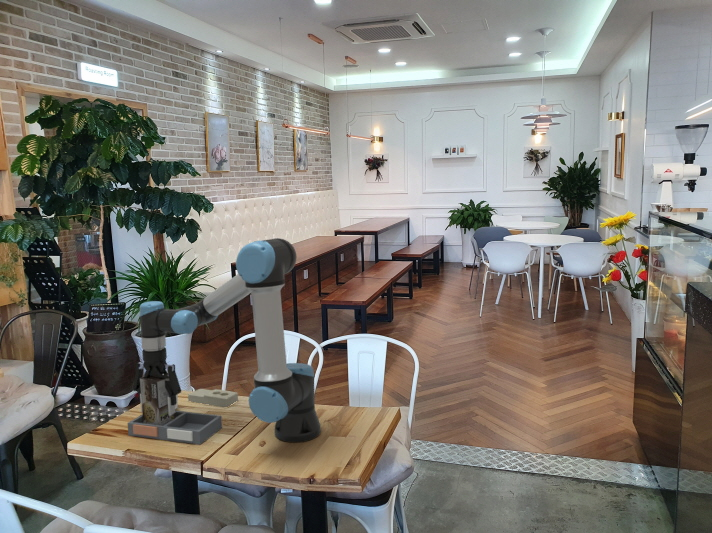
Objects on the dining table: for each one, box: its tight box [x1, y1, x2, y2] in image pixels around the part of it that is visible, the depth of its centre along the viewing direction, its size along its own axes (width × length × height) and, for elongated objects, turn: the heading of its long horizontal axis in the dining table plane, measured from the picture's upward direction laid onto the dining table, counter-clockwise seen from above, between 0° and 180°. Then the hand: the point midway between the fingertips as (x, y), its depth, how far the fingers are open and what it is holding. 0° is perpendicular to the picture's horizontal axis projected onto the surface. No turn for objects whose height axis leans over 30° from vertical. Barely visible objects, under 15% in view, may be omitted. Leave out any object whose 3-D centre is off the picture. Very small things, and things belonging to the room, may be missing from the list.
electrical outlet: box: [187, 388, 239, 408], centre depth 215 cm, size 7×4×18 cm
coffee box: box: [140, 376, 175, 426], centre depth 189 cm, size 9×6×16 cm
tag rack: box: [127, 409, 223, 445], centre depth 188 cm, size 27×14×4 cm, turn 73°
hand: (158, 412), depth 189 cm, fingers closed on coffee box, 10 cm apart
